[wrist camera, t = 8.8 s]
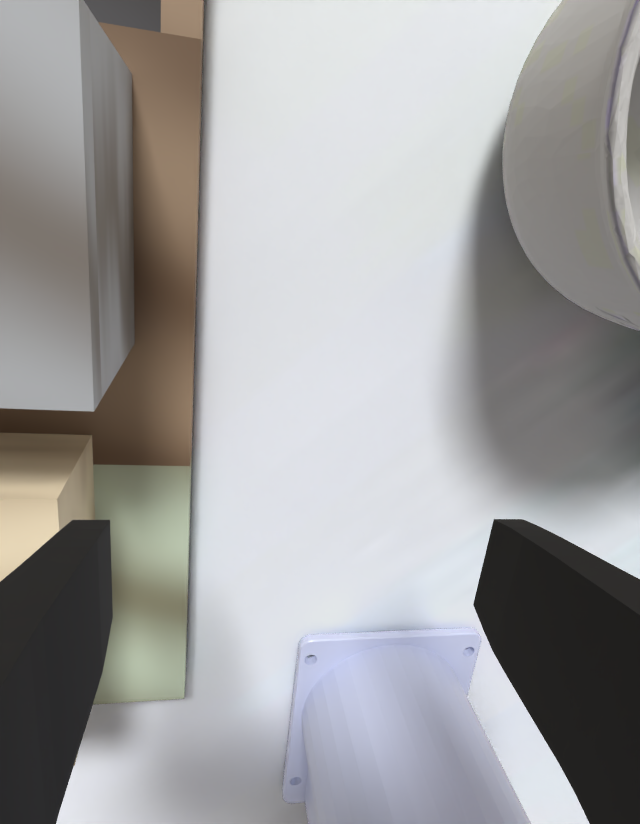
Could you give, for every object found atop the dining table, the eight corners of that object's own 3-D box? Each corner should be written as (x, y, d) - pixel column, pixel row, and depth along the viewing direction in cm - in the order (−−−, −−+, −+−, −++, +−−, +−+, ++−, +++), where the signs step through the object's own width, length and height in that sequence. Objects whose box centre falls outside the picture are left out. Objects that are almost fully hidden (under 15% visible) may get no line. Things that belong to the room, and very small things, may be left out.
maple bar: (101, 662, 20) (74, 765, 16) (-20, 667, 19) (-76, 778, 16) (91, 435, 17) (57, 498, 13) (-52, 431, 16) (-131, 497, 13)
